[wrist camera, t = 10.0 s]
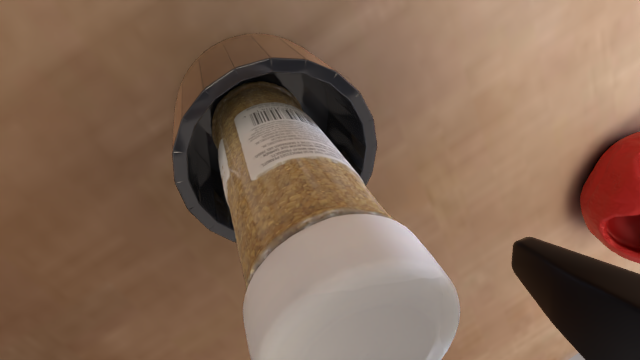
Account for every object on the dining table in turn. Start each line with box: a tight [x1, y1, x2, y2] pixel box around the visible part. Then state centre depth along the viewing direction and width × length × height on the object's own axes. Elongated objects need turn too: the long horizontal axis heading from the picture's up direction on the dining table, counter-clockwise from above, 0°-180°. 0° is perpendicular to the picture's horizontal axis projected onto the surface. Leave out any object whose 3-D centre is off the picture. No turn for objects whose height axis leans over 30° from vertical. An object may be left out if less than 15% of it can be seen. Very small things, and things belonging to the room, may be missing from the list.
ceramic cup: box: [172, 33, 377, 243], centre depth 17 cm, size 8×8×6 cm
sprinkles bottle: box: [212, 81, 460, 360], centre depth 13 cm, size 5×5×14 cm
